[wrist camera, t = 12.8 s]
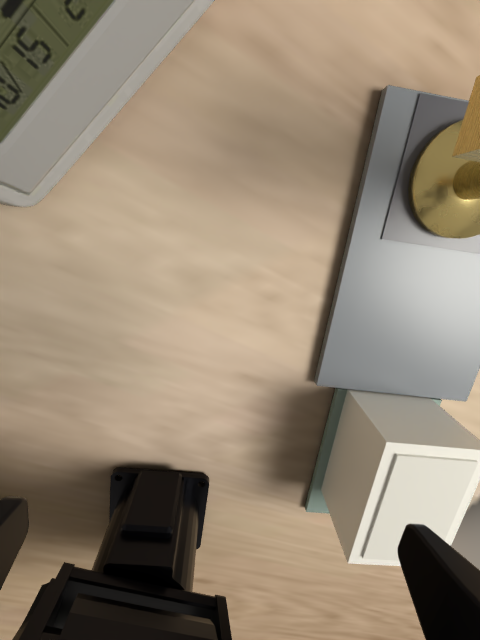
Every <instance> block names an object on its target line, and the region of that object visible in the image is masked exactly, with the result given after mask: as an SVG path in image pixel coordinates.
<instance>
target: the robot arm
mask: <svg viewBox="0 0 480 640" xmlns="http://www.w3.org/2000/svg"><path fill="white" fill-rule="evenodd" d="M118 475H121V477H120V476H118ZM201 481H203V482H204V483H201ZM208 488H209V477H208V476H207V475H205V474H198V473H185V472H172V471H160V470H147V469H134V468H121V467H120V468H116V469H115V470H114V471H113V473H112V475H111V487H110V522H109V526H108V529H107V531H106V534H105V536H104V539H103V542H102V544H101V547H100V549H99V552H98V555H97V557H96V560H95V562H94V565H93V568H92V570H87V569H82V568H78V567H74V566H75V564H70V563H65V562H64V564H63V566H62V567H61V569H60V571H59V573H58V575H57V577H56V579H54V578H52V579H51V581H50V582H49V583H47V584H44V585H42V587H41V589H40V591H39V593H38V595H37V597H36V599H35V600H34V602H33V604H32V606H31V608H30V610H29V612H28V614H27V616H26V618H25V620H24V622H23V623H22V625H21V627H20V629H19V630H18V632H17V633H16V635H15V636H14V638H13V640H232V637H231V630H230V623H229V617H228V610H227V603H226V597H224V596H220V595H215V597H214V596H209V595H205V594H200V593H195V592H192V589H193V578H194V566H195V555H196V549H198V548H199V547H200V545H201V538H202V531H203V524H204V517H205V510H206V503H207V496H208ZM28 527H29V520H28V505H27V500H26V498H24V497H13V496H7V497H4V498H2V499H1V500H0V590H1V588H2V585H3V583H4V581H5V579H6V577H7V575H8V573H9V571H10V569H11V567H12V565H13V562H14V560H15V558H16V556H17V554H18V552H19V550H20V548H21V546H22V544H23V542H24V539H25V537H26V535H27V532H28ZM397 551H398V558H399V562H400V565H401V568H402V571H403V574H404V577H405V580H406V583H407V586H408V589H409V592H410V595H411V598H412V601H413V604H414V607H415V610H416V613H417V616H418V619H419V622H420V625H421V627H422V630H423V633H424V636H425V638H426V640H480V570H479V569H477V568H476V567H475V566H474V565H473V564H471V563H470V562H469V561H468V560H467V559H466V558H464V557H463V556H462V555H461V554H459V553H458V552H457V551H456V550H454V548H452V547H451V546H450V545H449V544H448V543H446V542H445V541H444V540H443V539H442V538H440V537H439V536H438V535H437V534H436V533H435V532H433V531H432V530H431V529H430V528H428V527H427V526H425V525H423V524H412V523H410V524H408V525H406V527H405V529H404V532H403V534H402V537H401V540H400V542H399V545H398V550H397Z"/></svg>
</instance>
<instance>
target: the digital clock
mask: <svg viewBox="0 0 480 640" xmlns="http://www.w3.org/2000/svg"><path fill="white" fill-rule="evenodd" d="M214 1H215V0H0V203H1V204H4V205H9V206H17V207H31V206H33V205H36V204H37V203H38V202H40V201H41V200H42V199H43V198H44V197H45V196H46V195H47V194H48V193H49V192H50V191H51V189H52V188H53V187H54V186H55V185H56V184H57V183H58V182H59V181H60V179H61V178H62V177H63V176H64V175H65V174H66V173H67V171H68V170H69V169H70V168H71V167H72V166H73V165H74V163H75V162H76V161H77V160H78V159H79V158H80V156H81V155H82V154H83V153H84V152H85V151H86V149H87V148H88V147H89V146H90V145H91V144H92V143H93V141H94V140H95V139H96V138H97V137H98V136H99V134H100V133H101V132H102V131H103V130H104V129H105V127H106V126H107V125H108V124H109V123H110V122H111V120H112V119H113V118H114V117H115V116H116V115H117V113H118V112H119V111H120V110H121V109H122V108H123V106H124V105H125V104H126V103H127V102H128V101H129V100H130V98H131V97H132V96H133V95H134V94H135V93H136V91H137V90H138V89H139V88H140V87H141V86H142V84H143V83H144V82H145V81H146V80H147V79H148V77H149V76H150V75H151V74H152V73H153V72H154V70H155V69H156V68H157V67H158V66H159V65H160V64H161V62H162V61H163V60H164V59H165V58H166V57H167V55H168V54H169V53H170V52H171V51H172V50H173V48H174V47H175V46H176V45H177V44H178V43H179V41H180V40H181V39H182V38H183V37H184V36H185V34H186V33H187V32H188V31H189V30H190V29H191V28H192V26H193V25H194V24H195V23H196V22H197V21H198V19H199V18H200V17H201V16H202V15H203V13H204V12H205V11H206V10H207V9H208V8H209V6H210V5H211V4H212V3H213V2H214Z"/></svg>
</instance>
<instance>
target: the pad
mask: <svg viewBox="0 0 480 640" xmlns="http://www.w3.org/2000/svg"><path fill="white" fill-rule="evenodd" d="M350 390H353V389H350ZM360 391H363V390H360ZM370 392H372V391H370ZM346 393H347V389H344V388H335V392H334V396H333V400H332V404H331V407H330V411H329V415H328V419H327V423H326V427H325V431H324V435H323V438H322V442H321V446H320V450H319V454H318V458H317V462H316V466H315V470H314V473H313V477H312V481H311V485H310V489H309V493H308V497H307V501H306V505H305V509H306V512H316V513H329V510H328V507H327V505H326V502H325V499H324V496H323V494H322V491H321V488H322V484H323V481H324V477H325V473H326V469H327V465H328V462H329V458H330V454H331V450H332V446H333V443H334V439H335V435H336V431H337V427H338V424H339V420H340V416H341V412H342V408H343V405H344V401H345V397H346ZM380 393H382V392H380ZM390 394H391V393H390ZM430 399H432V400H433V401H434V402H435V403H436V404H438V405H439V406H440V403H441V401H442V400H441V399H438V398H430Z"/></svg>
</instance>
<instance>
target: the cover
mask: <svg viewBox="0 0 480 640" xmlns="http://www.w3.org/2000/svg"><path fill="white" fill-rule="evenodd" d="M479 481H480V440H479V439H478V438H476V437H475V436H474V435H473V434H472V433H471V432H469V431H468V430H467V429H466V428H465V427H463V426H462V425H461V424H460V423H459V422H458V421H456V420H455V419H454V418H453V417H452V416H450V415H449V414H448V413H447V412H446V411H445V410H443V409H442V408H441V407H440V406H439V405H438V404H436V403H435V402H434V401H433V400H432V399H430V398H429V397H419V396H410V395H400V394H390V393H380V392H370V391H360V390H350V389H347V393H346V397H345V401H344V405H343V408H342V412H341V416H340V420H339V424H338V427H337V431H336V435H335V439H334V443H333V446H332V450H331V454H330V458H329V462H328V465H327V469H326V473H325V477H324V481H323V484H322V488H321V491H322V494H323V496H324V499H325V502H326V505H327V507H328V510H329V513H330V516H331V518H332V521H333V524H334V527H335V529H336V532H337V535H338V538H339V540H340V543H341V546H342V549H343V551H344V554H345V557H346V560H347V562H348V563H352V564H372V565H391V566H401V565H400V562H399V558H398V551H397V550H398V545H399V542H400V540H401V537H402V534H403V532H404V529H405V527H406V525H408V524H410V523H412V524H423V525H425V526H427V527H428V528H430V529H431V530H432V531H433V532H435V533H436V534H437V535H438V536H439V537H440V538H442V539H443V540H444V541H445V542H446V543H448V544H449V545H450V546H451V544H452V542H453V540H454V537H455V535H456V533H457V530H458V528H459V526H460V524H461V521H462V519H463V517H464V515H465V512H466V510H467V508H468V506H469V503H470V501H471V499H472V496H473V494H474V492H475V490H476V487H477V485H478V483H479Z"/></svg>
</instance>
